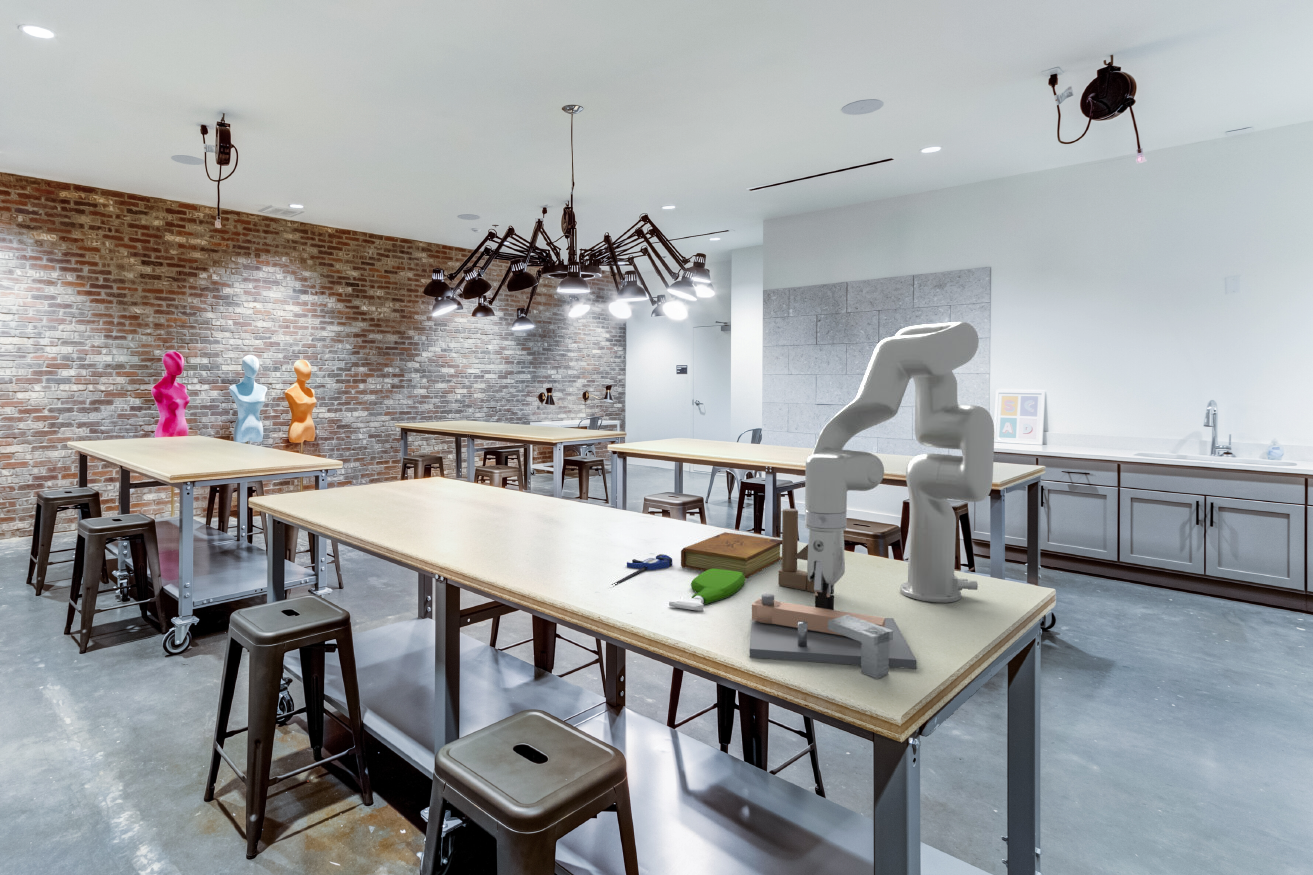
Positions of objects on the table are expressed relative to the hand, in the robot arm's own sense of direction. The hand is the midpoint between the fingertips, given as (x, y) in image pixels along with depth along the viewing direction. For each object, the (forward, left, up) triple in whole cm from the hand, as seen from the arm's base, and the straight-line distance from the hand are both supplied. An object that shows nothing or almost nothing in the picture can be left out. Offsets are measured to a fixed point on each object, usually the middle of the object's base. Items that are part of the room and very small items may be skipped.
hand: (824, 615), depth 122 cm
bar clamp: (+44, -30, -4) cm, 54 cm away
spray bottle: (+24, -19, -4) cm, 31 cm away
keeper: (-2, +14, -3) cm, 15 cm away
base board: (0, +5, -3) cm, 6 cm away
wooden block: (+3, -27, -3) cm, 28 cm away
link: (+2, +4, -1) cm, 4 cm away
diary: (+20, -47, -4) cm, 51 cm away
